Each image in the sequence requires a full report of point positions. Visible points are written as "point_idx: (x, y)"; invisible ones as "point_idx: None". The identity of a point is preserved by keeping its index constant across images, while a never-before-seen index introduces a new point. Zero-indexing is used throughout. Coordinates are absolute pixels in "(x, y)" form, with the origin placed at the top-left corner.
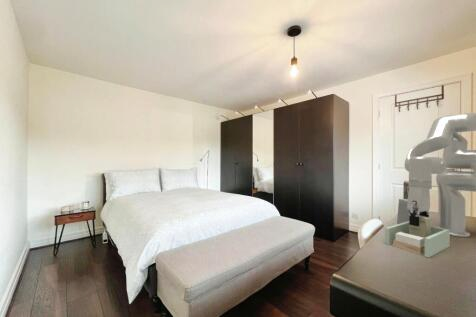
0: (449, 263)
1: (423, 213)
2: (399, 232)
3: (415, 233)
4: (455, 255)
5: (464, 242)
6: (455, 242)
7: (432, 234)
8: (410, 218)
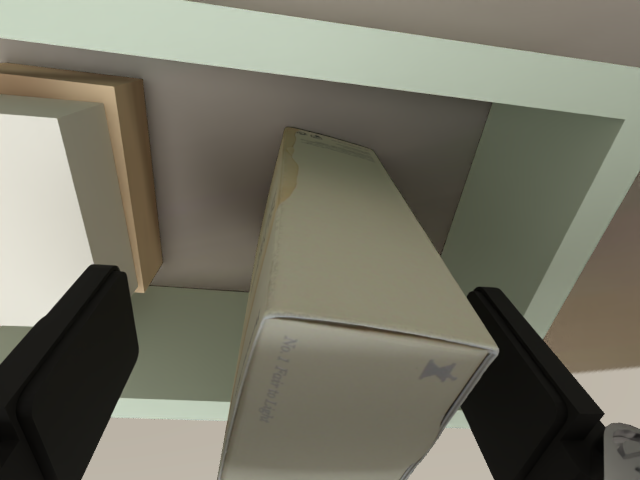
0: None
1: (553, 475)
2: (8, 121)
3: (265, 224)
4: None
5: (610, 349)
6: (572, 324)
7: (472, 287)
8: (31, 355)
